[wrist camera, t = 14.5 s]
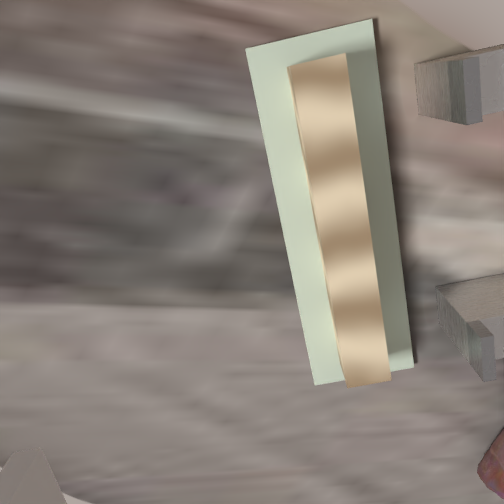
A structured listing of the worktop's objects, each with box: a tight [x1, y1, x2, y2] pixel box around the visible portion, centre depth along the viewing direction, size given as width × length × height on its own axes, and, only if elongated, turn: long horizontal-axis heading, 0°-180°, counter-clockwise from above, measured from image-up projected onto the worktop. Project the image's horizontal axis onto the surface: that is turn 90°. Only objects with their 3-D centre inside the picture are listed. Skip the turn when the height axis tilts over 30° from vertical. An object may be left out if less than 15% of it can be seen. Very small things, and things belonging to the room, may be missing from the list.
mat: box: [245, 19, 414, 385], centre depth 43 cm, size 32×10×1 cm, turn 12°
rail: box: [287, 53, 391, 388], centre depth 41 cm, size 28×4×4 cm, turn 12°
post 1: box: [414, 44, 504, 125], centre depth 34 cm, size 4×7×10 cm, turn 102°
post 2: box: [435, 274, 504, 382], centre depth 41 cm, size 4×7×10 cm, turn 102°
